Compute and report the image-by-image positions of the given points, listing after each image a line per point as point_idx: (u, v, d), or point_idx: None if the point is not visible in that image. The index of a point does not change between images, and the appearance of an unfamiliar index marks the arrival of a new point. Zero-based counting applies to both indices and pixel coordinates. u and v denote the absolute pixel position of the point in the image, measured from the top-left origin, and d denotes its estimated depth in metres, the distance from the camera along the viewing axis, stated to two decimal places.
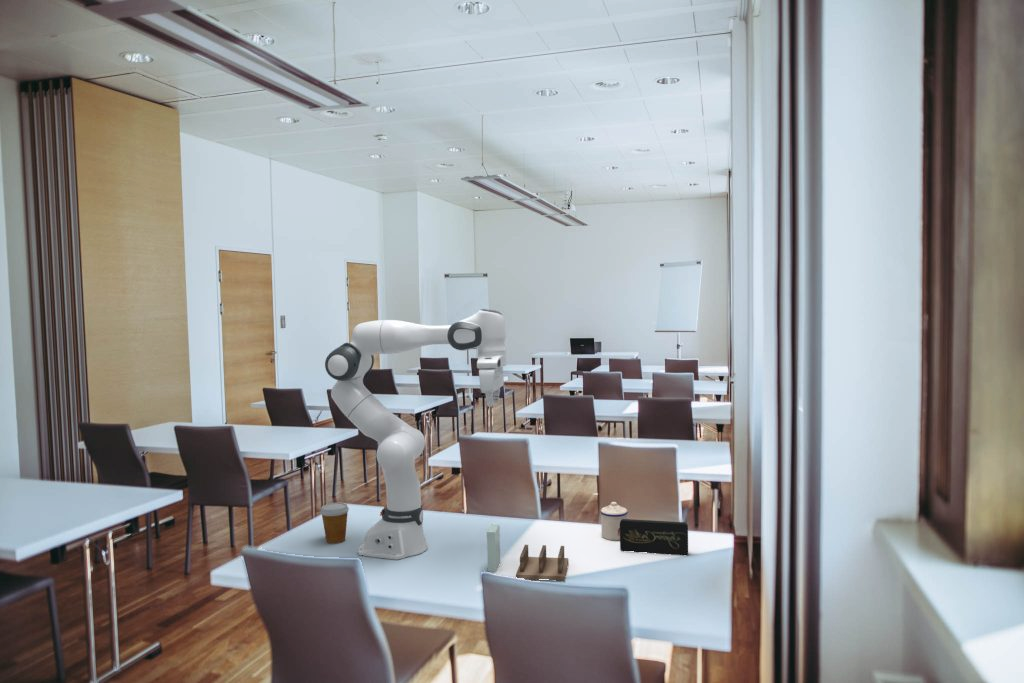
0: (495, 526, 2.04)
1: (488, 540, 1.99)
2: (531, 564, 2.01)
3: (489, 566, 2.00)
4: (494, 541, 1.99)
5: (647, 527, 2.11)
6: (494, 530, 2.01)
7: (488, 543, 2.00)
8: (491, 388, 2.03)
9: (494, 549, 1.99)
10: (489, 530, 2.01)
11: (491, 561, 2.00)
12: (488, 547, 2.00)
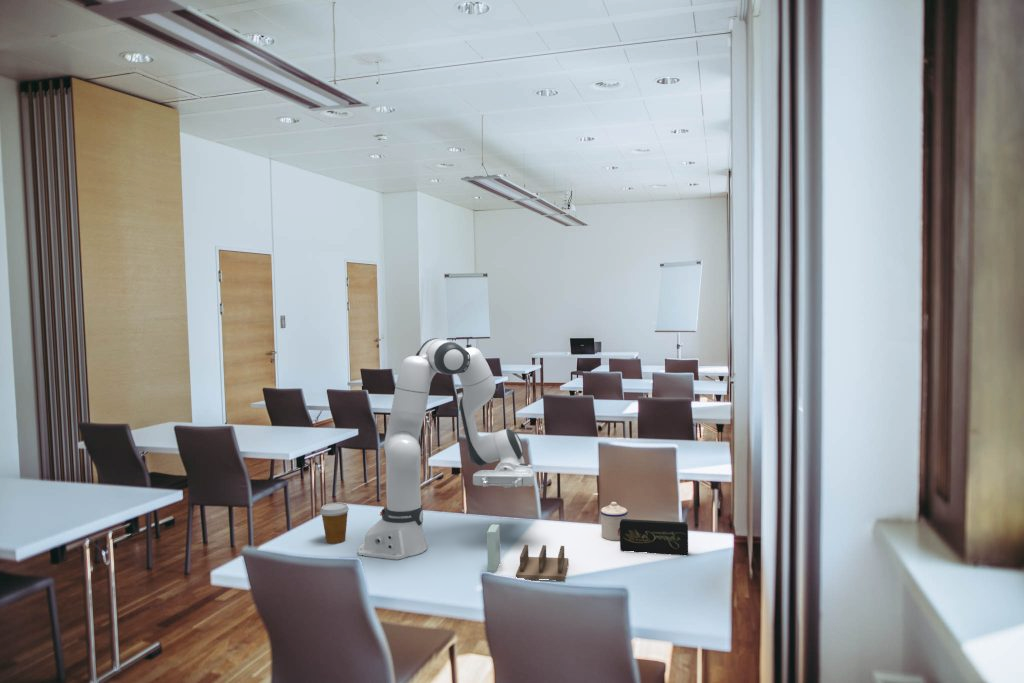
0: (495, 526, 2.04)
1: (488, 540, 1.99)
2: (531, 564, 2.01)
3: (489, 566, 2.00)
4: (494, 541, 1.99)
5: (647, 527, 2.11)
6: (494, 530, 2.01)
7: (488, 543, 2.00)
8: (533, 484, 2.19)
9: (494, 549, 1.99)
10: (489, 530, 2.01)
11: (491, 561, 2.00)
12: (488, 547, 2.00)
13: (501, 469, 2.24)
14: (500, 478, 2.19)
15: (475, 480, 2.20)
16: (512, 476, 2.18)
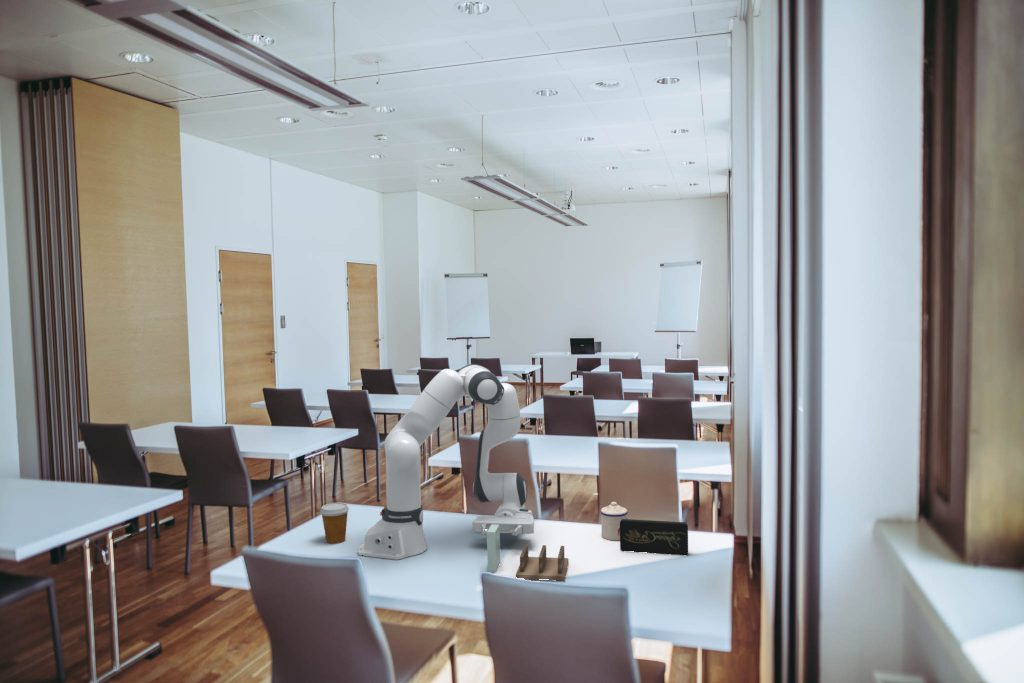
0: (495, 526, 2.04)
1: (488, 540, 1.99)
2: (531, 564, 2.01)
3: (489, 566, 2.00)
4: (494, 541, 1.99)
5: (647, 527, 2.11)
6: (494, 530, 2.01)
7: (488, 543, 2.00)
8: (533, 532, 2.17)
9: (494, 549, 1.99)
10: (489, 530, 2.01)
11: (491, 561, 2.00)
12: (488, 547, 2.00)
13: (501, 515, 2.23)
14: (500, 525, 2.18)
15: (475, 527, 2.19)
16: (512, 523, 2.17)
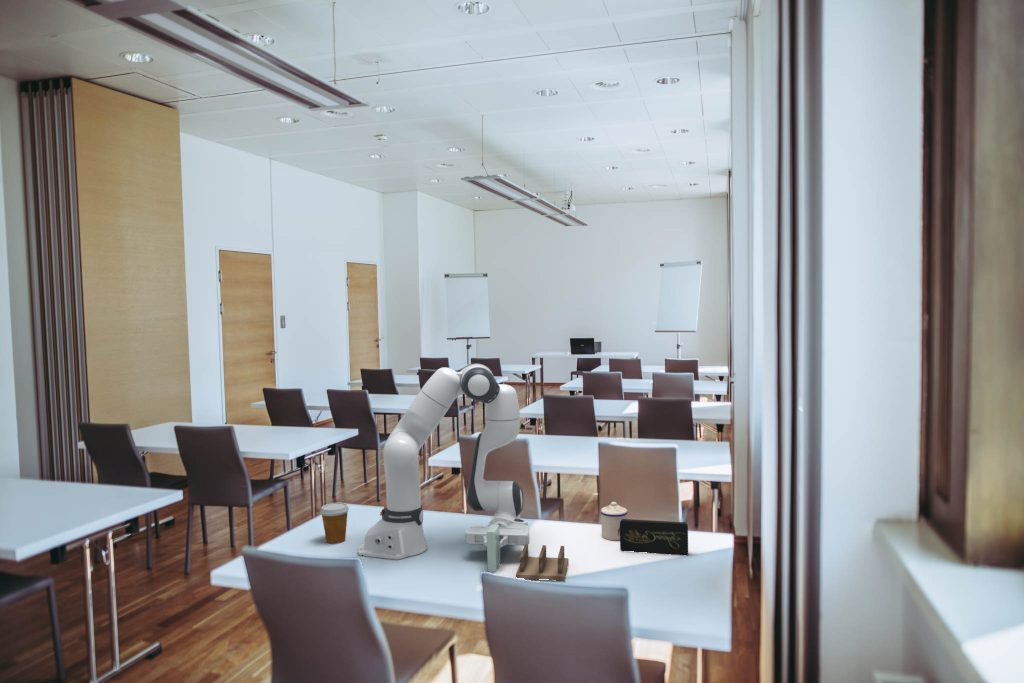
0: (495, 526, 2.04)
1: (488, 540, 1.99)
2: (531, 564, 2.01)
3: (489, 566, 2.00)
4: (494, 541, 1.99)
5: (647, 527, 2.11)
6: (494, 530, 2.01)
7: (488, 543, 2.00)
8: (528, 543, 2.06)
9: (494, 549, 1.99)
10: (489, 530, 2.01)
11: (491, 561, 2.00)
12: (488, 547, 2.00)
13: None
14: None
15: (467, 538, 2.08)
16: (506, 534, 2.06)
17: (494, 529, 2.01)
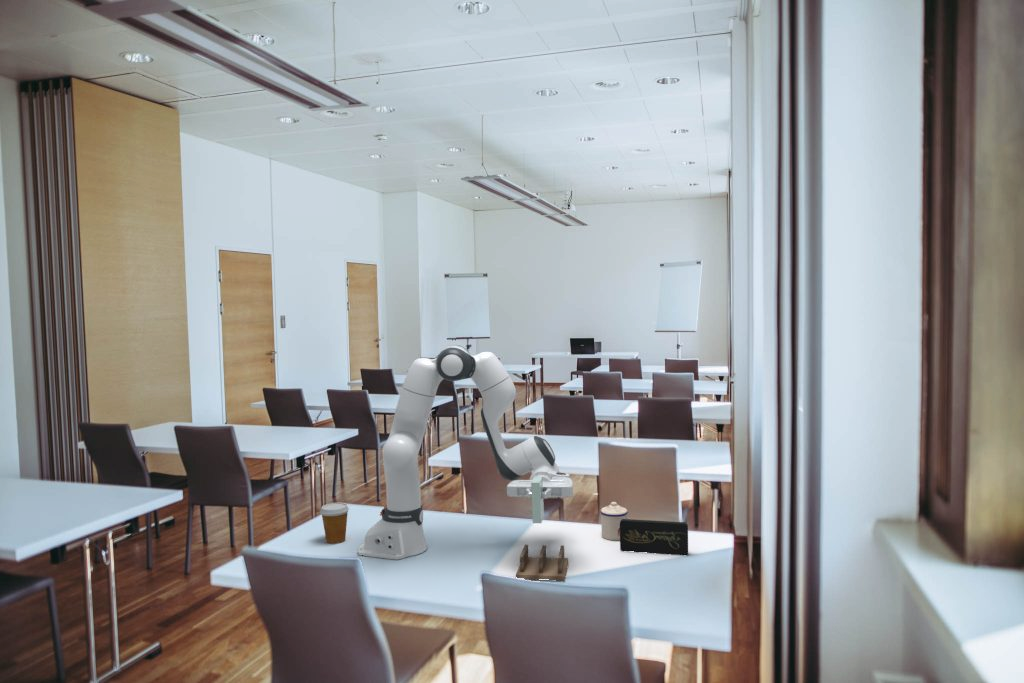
0: (538, 477, 2.00)
1: (533, 491, 1.95)
2: (531, 564, 2.01)
3: (534, 517, 1.96)
4: (539, 492, 1.95)
5: (647, 527, 2.11)
6: (538, 481, 1.97)
7: (533, 494, 1.95)
8: (572, 495, 2.02)
9: (539, 500, 1.95)
10: (533, 481, 1.97)
11: (536, 512, 1.96)
12: (533, 498, 1.96)
13: None
14: None
15: (510, 491, 2.04)
16: (550, 486, 2.02)
17: (538, 480, 1.97)
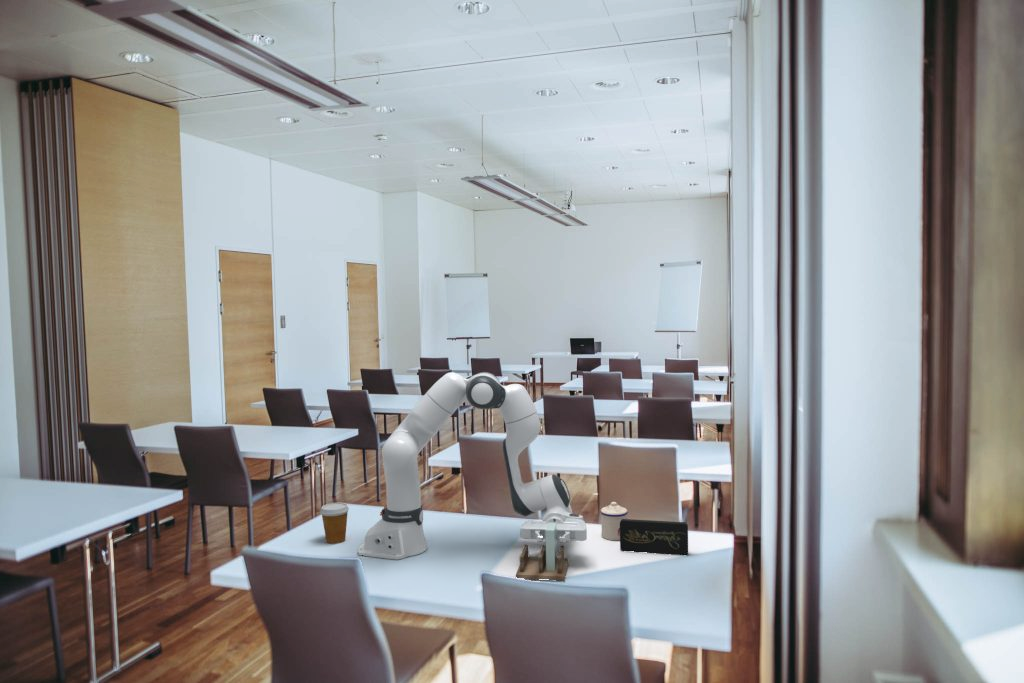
0: (552, 524, 2.00)
1: (547, 538, 1.95)
2: (531, 564, 2.01)
3: (548, 565, 1.95)
4: (553, 539, 1.95)
5: (647, 527, 2.11)
6: (552, 528, 1.96)
7: (547, 542, 1.95)
8: None
9: (553, 548, 1.95)
10: (547, 528, 1.96)
11: (550, 560, 1.95)
12: (547, 546, 1.95)
13: (550, 520, 2.08)
14: None
15: (523, 533, 2.04)
16: (563, 530, 2.01)
17: (552, 527, 1.97)
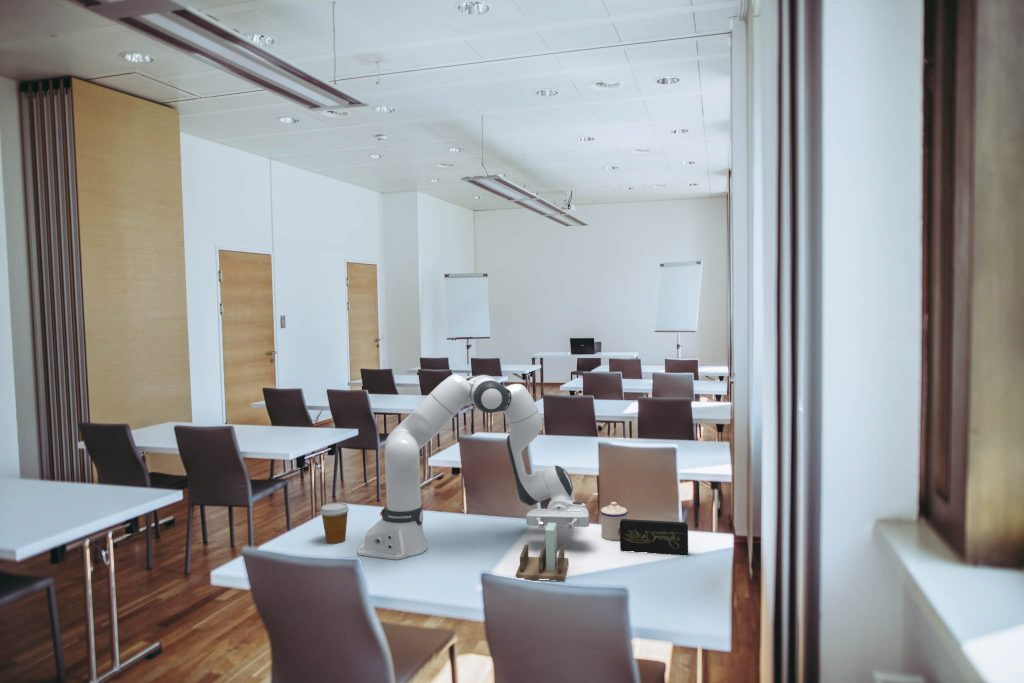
0: (552, 524, 2.00)
1: (547, 538, 1.95)
2: (531, 564, 2.01)
3: (548, 565, 1.95)
4: (553, 539, 1.95)
5: (647, 527, 2.11)
6: (552, 528, 1.96)
7: (547, 542, 1.95)
8: (588, 525, 2.14)
9: (553, 548, 1.95)
10: (547, 528, 1.96)
11: (550, 560, 1.95)
12: (547, 546, 1.95)
13: (554, 508, 2.20)
14: (555, 518, 2.15)
15: (529, 520, 2.16)
16: (567, 516, 2.14)
17: (552, 527, 1.97)
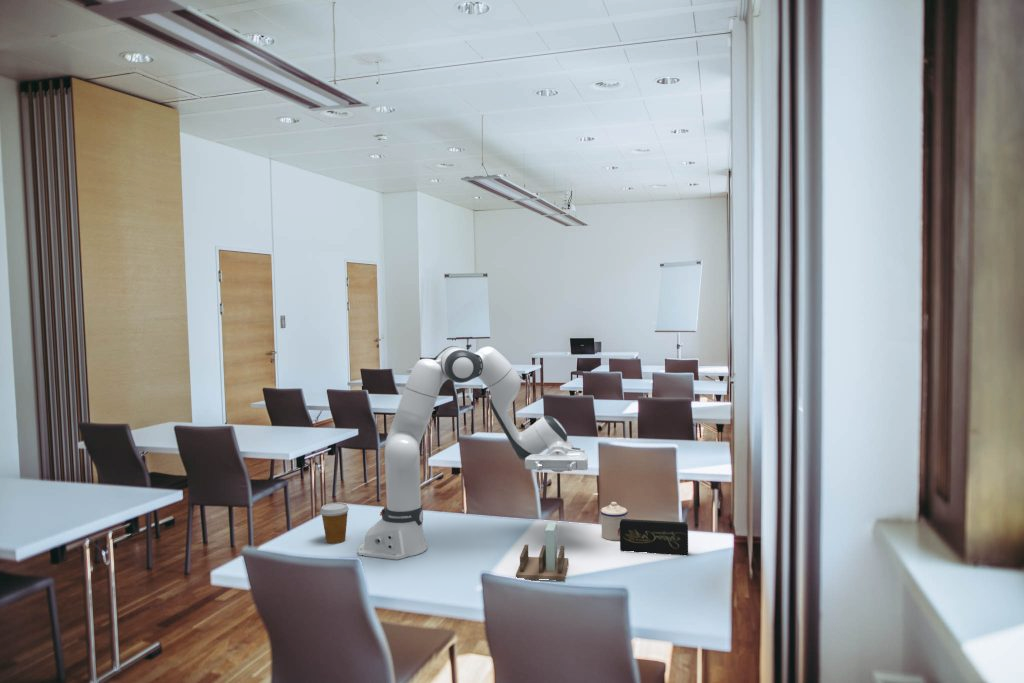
0: (552, 524, 2.00)
1: (547, 538, 1.95)
2: (531, 564, 2.01)
3: (548, 565, 1.95)
4: (553, 539, 1.95)
5: (647, 527, 2.11)
6: (552, 528, 1.96)
7: (547, 542, 1.95)
8: (587, 468, 2.14)
9: (553, 548, 1.95)
10: (547, 528, 1.96)
11: (550, 560, 1.95)
12: (547, 546, 1.95)
13: (553, 453, 2.20)
14: (553, 462, 2.15)
15: (527, 464, 2.15)
16: (566, 460, 2.13)
17: (552, 527, 1.97)
